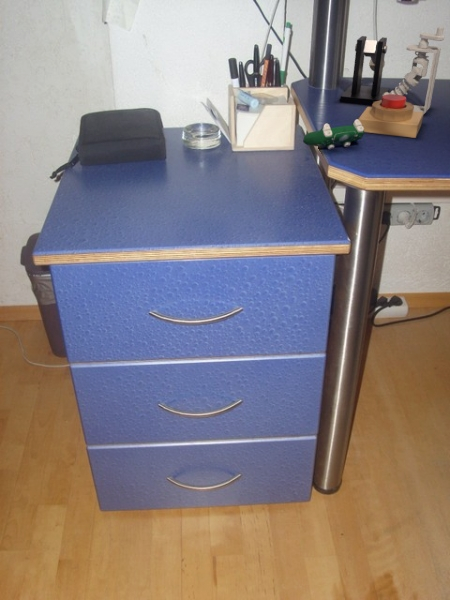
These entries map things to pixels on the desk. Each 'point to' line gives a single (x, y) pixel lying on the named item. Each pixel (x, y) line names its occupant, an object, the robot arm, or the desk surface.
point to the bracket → (356, 91)
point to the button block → (391, 120)
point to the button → (393, 101)
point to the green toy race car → (335, 135)
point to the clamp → (420, 72)
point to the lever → (371, 52)
